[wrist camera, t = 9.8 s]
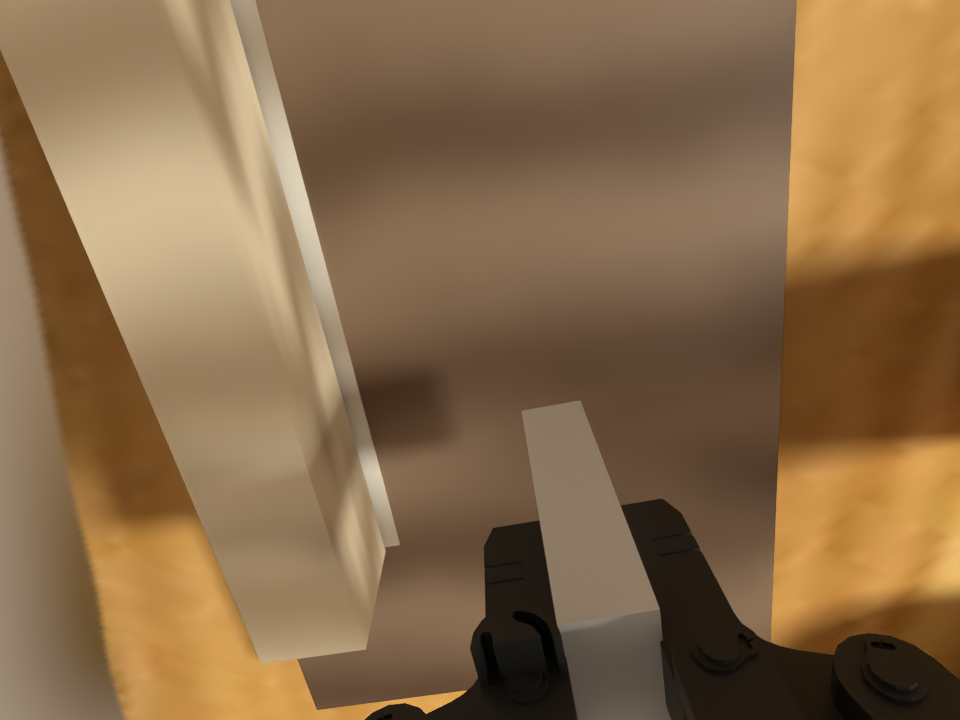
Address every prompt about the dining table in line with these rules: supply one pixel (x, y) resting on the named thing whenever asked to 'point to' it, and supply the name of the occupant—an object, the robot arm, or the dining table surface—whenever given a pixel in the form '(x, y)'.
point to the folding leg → (208, 297)
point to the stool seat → (535, 275)
